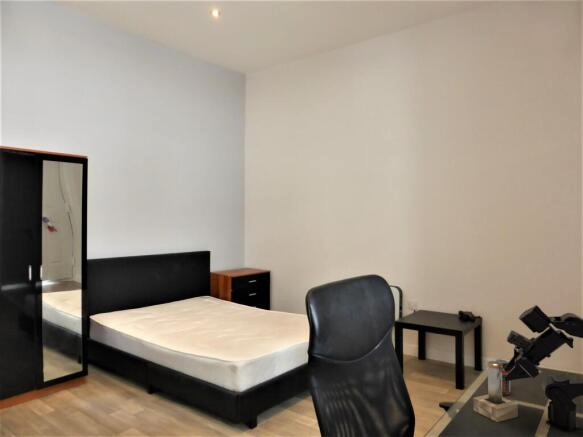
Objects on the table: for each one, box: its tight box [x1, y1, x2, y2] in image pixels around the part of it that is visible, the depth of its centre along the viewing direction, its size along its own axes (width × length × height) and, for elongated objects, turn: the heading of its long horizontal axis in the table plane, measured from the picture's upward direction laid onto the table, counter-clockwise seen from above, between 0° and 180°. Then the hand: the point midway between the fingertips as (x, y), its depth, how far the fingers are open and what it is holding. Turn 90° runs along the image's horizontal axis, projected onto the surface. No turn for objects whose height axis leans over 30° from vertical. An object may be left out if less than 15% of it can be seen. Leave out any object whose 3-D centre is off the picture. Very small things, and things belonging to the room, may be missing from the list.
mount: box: [472, 394, 519, 423], centre depth 133 cm, size 9×9×4 cm
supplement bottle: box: [495, 359, 512, 396], centre depth 150 cm, size 6×6×11 cm
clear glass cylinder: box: [486, 360, 503, 404], centre depth 133 cm, size 4×4×12 cm
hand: (504, 374), depth 132 cm, fingers open, 9 cm apart
